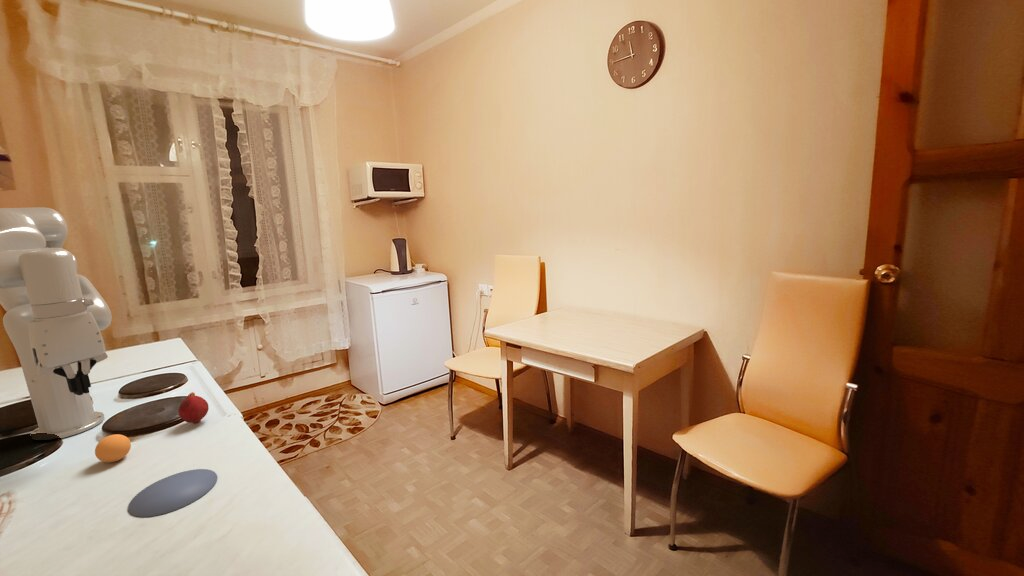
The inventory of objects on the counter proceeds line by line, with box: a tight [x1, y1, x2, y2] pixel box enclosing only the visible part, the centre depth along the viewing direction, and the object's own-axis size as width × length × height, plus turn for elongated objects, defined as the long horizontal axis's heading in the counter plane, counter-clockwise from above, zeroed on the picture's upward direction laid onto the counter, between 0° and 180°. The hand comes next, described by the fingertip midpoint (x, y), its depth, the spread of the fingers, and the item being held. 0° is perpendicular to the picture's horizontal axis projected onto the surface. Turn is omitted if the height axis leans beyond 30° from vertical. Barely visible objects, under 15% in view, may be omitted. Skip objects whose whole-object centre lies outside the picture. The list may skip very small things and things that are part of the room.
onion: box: [177, 391, 210, 425], centre depth 104 cm, size 6×6×8 cm
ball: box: [94, 433, 132, 463], centre depth 89 cm, size 6×6×6 cm
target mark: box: [128, 468, 218, 518], centre depth 79 cm, size 13×13×1 cm
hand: (81, 392), depth 91 cm, fingers closed
